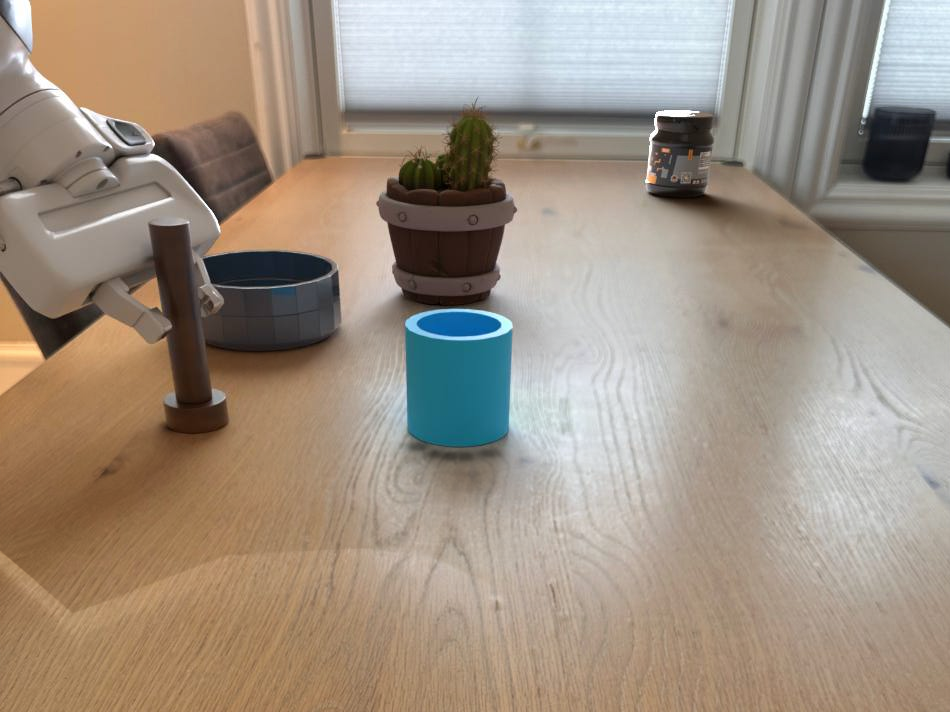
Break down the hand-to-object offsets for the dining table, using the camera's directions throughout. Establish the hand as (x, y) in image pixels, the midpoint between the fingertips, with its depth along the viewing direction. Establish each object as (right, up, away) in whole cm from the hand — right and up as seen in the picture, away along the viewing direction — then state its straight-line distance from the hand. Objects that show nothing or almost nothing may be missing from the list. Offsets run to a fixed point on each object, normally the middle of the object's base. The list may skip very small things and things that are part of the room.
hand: (190, 323), depth 73 cm
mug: (+20, -6, +7) cm, 22 cm away
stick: (-1, -6, +5) cm, 8 cm away
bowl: (0, +8, +25) cm, 26 cm away
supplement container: (+55, +53, +94) cm, 121 cm away
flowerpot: (+18, +15, +38) cm, 44 cm away
